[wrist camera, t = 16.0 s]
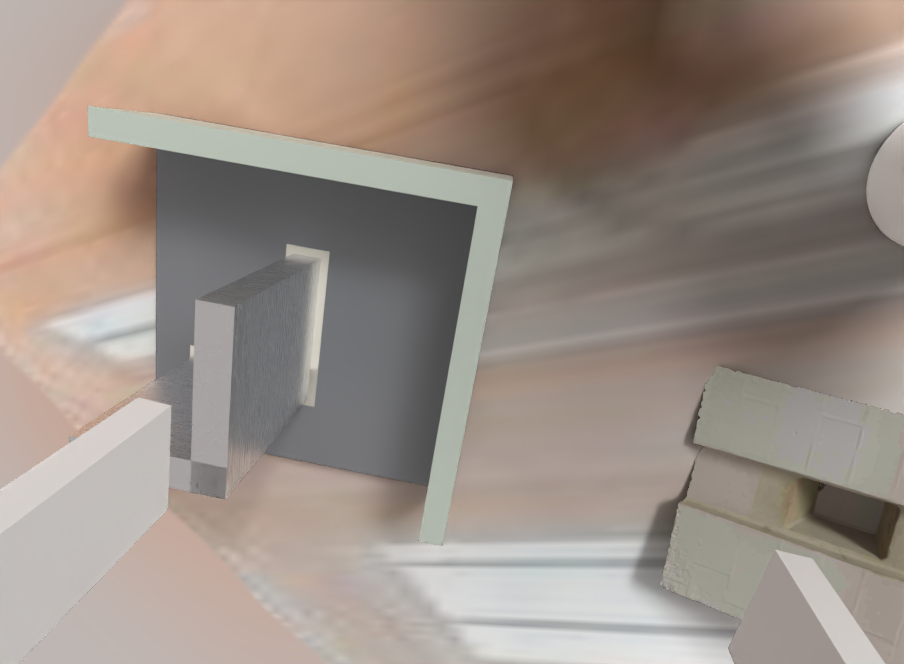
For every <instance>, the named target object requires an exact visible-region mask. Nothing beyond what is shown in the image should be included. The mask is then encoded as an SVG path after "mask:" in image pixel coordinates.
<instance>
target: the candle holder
mask: <svg viewBox="0 0 904 664" xmlns="http://www.w3.org/2000/svg"><path fill="white" fill-rule="evenodd" d="M866 196H867V204H868V208H869V211H870V214H871V216H872V219H873V220H874V222H875V224H876V225H877V227H878V228H879V229H880V230H881V231H882V232H883V233H884V234H885V235H886V236H887V237H888V238H890V239H891V240H893V241H894V242H896V243H898V244H900V245H902V246H904V122H903V123H902V124H901V125H900V126H899V127H898V128H897V129H895V130H894V131H893V132H892V134H891V135H890V136H889V137H888V138H887V139H886V141H885V142H884V143H883V145H882V146H881V148H880V149H879V151H878V152H877V154H876V156H875V158H874V160H873V163H872V165H871V168H870V171H869V175H868V179H867V188H866Z"/></svg>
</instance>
